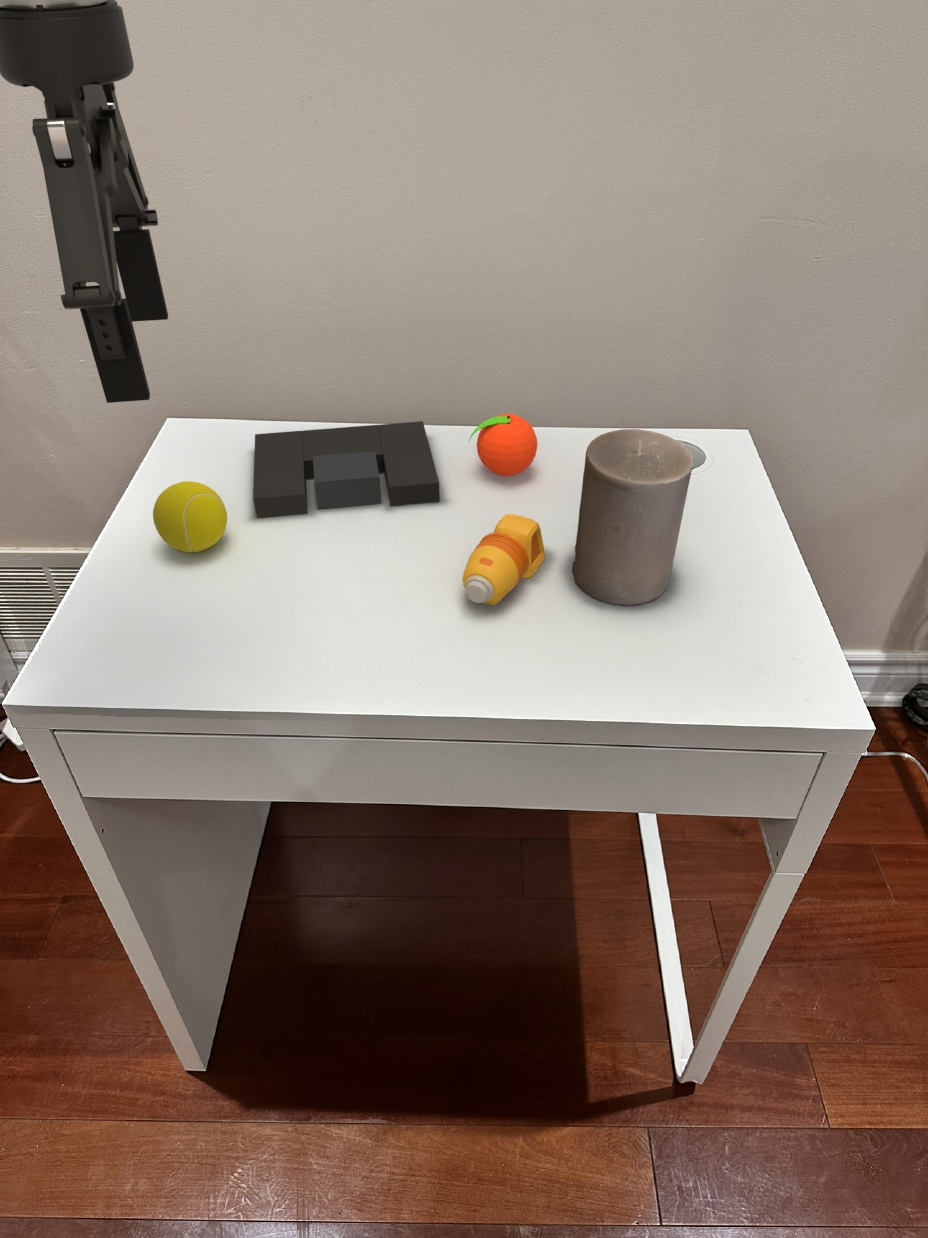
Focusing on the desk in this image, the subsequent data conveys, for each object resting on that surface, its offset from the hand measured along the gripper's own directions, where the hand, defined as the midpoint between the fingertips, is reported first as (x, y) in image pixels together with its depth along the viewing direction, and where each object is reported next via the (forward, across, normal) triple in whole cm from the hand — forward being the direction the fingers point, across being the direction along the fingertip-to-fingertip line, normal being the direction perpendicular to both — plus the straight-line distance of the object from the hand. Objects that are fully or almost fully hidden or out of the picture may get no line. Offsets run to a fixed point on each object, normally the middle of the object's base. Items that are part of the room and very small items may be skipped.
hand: (140, 356), depth 63 cm
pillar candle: (+27, +2, -40) cm, 48 cm away
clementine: (+27, +23, -32) cm, 48 cm away
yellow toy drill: (+27, +3, -28) cm, 39 cm away
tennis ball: (+27, +14, +2) cm, 30 cm away
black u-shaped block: (+27, +25, -14) cm, 39 cm away
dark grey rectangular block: (+27, +21, -14) cm, 37 cm away
